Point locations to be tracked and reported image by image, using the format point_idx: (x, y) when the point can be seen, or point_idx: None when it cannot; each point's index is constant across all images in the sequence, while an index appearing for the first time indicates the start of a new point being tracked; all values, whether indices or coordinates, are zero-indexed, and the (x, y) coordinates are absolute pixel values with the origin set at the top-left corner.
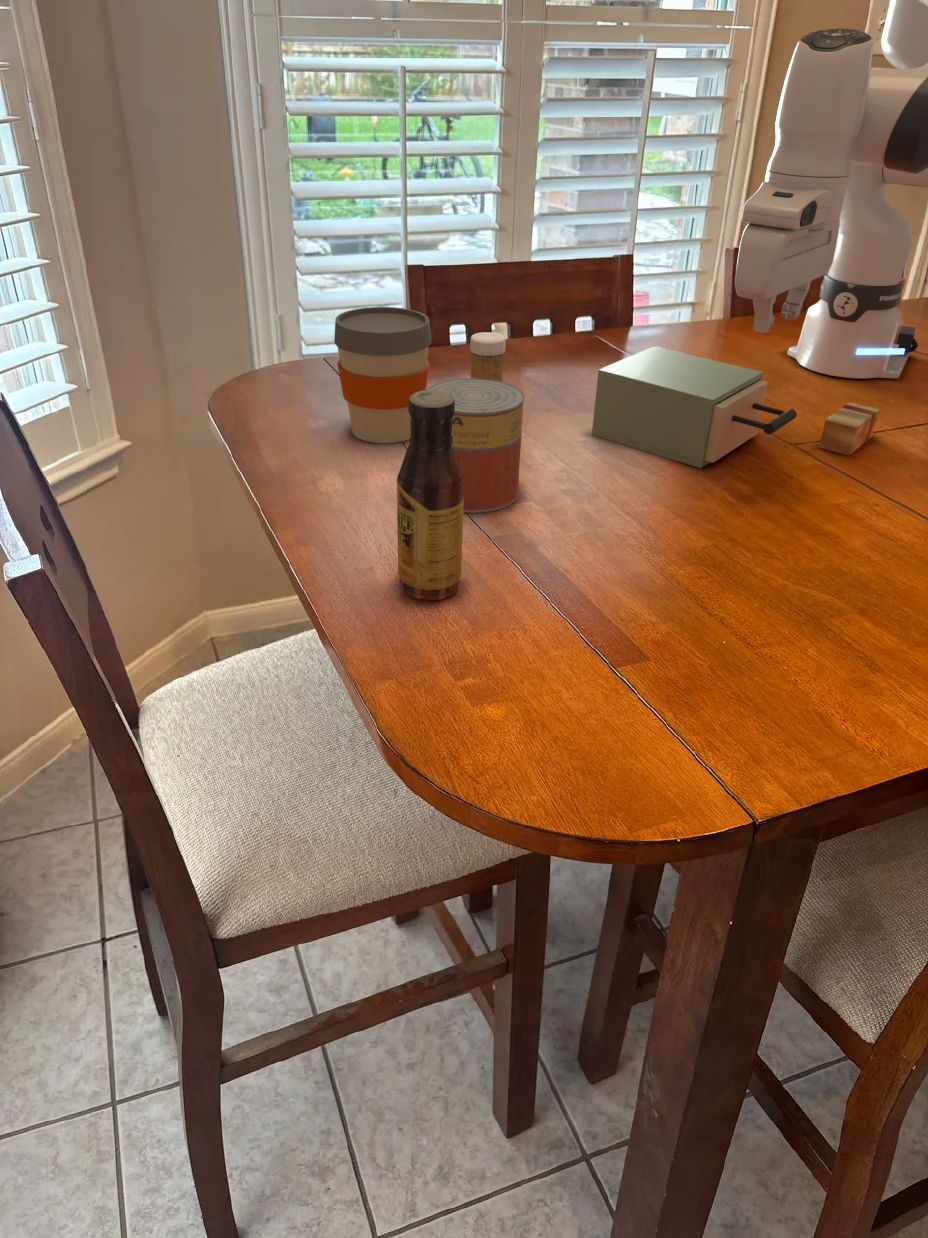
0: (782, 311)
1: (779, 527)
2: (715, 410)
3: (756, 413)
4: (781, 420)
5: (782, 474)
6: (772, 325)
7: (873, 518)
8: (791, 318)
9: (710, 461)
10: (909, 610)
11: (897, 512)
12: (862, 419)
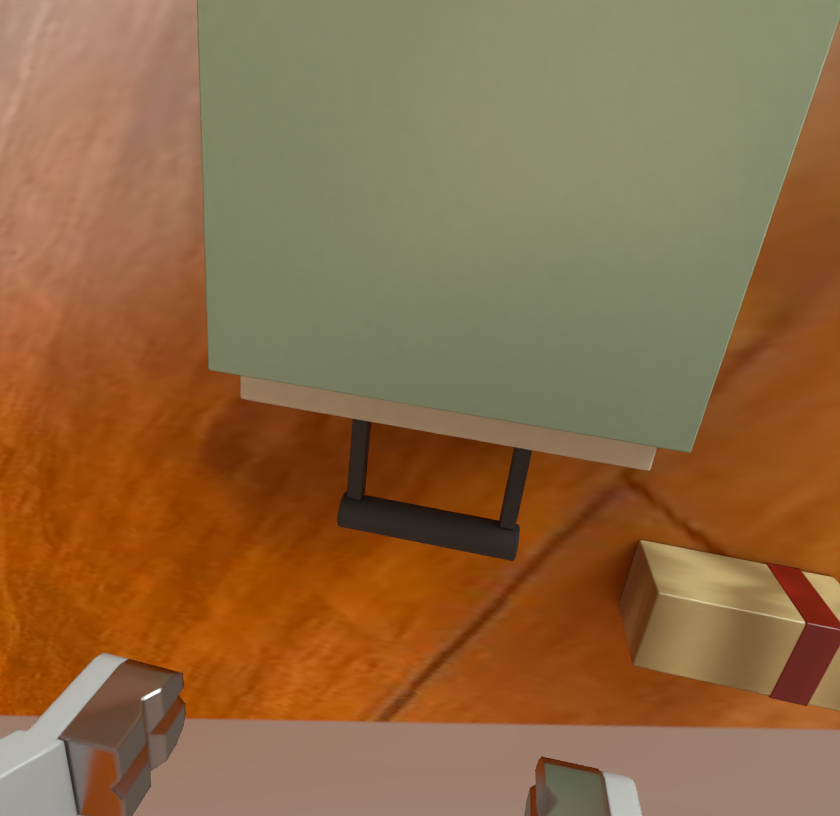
0: (549, 797)
1: (158, 533)
2: None
3: None
4: (400, 538)
5: (407, 493)
6: (160, 761)
7: (311, 662)
8: (528, 811)
9: None
10: None
11: (365, 694)
12: (713, 676)
